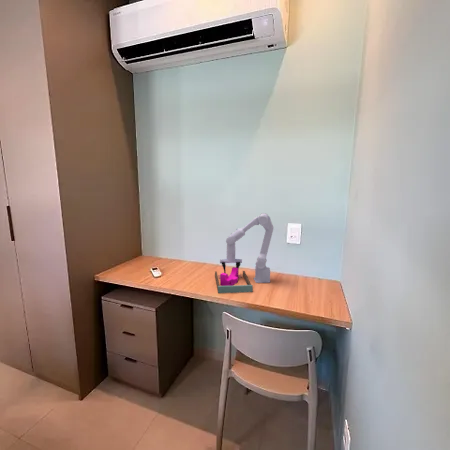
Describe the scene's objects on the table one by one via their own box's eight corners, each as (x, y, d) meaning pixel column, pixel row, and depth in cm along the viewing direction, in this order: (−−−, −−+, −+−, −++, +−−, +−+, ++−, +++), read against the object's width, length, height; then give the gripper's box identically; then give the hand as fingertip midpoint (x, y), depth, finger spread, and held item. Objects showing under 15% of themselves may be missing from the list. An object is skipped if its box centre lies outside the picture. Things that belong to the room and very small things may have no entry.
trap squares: (241, 274, 187) (241, 274, 187) (242, 278, 181) (242, 277, 181) (218, 275, 185) (218, 275, 185) (218, 278, 179) (218, 278, 179)
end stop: (252, 291, 161) (252, 284, 160) (252, 292, 160) (252, 285, 159) (217, 292, 159) (218, 285, 158) (218, 293, 158) (218, 286, 157)
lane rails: (244, 274, 187) (244, 270, 186) (252, 291, 161) (252, 286, 160) (214, 275, 185) (214, 271, 184) (217, 292, 159) (218, 287, 158)
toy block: (228, 287, 165) (228, 276, 164) (220, 285, 169) (220, 274, 167) (241, 279, 177) (241, 269, 176) (233, 277, 181) (233, 266, 179)
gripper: (240, 251, 183) (240, 270, 185) (219, 251, 181) (219, 271, 184) (242, 254, 176) (242, 274, 178) (220, 255, 174) (220, 275, 177)
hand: (230, 273), depth 180 cm, fingers open, 7 cm apart
